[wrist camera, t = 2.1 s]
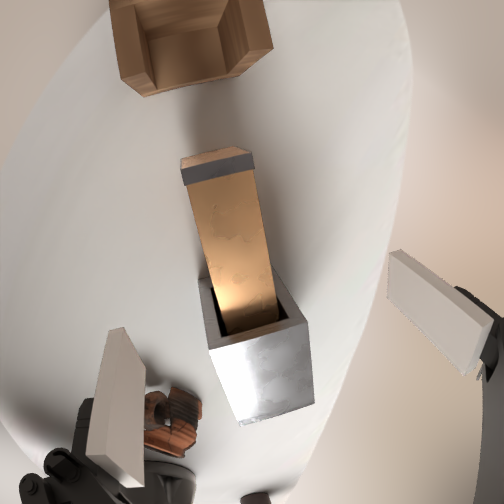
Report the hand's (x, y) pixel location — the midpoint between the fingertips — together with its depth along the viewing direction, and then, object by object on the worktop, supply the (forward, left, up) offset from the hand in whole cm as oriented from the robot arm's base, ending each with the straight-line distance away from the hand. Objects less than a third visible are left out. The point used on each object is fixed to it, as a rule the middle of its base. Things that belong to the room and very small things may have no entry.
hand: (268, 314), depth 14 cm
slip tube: (0, -4, -13) cm, 13 cm away
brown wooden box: (0, +15, -15) cm, 21 cm away
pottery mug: (-13, -22, -15) cm, 29 cm away
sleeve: (0, -10, -15) cm, 18 cm away
